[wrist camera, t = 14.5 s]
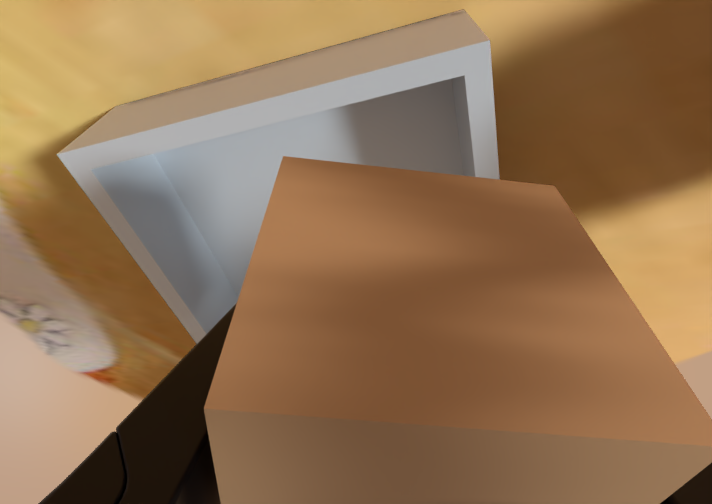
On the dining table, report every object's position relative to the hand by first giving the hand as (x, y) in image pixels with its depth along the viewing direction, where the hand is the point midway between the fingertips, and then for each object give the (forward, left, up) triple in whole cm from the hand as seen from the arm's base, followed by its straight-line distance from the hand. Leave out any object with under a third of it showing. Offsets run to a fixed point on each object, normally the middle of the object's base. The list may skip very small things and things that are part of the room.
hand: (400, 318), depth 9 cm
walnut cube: (0, 0, -1) cm, 1 cm away
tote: (+4, +8, -12) cm, 15 cm away
